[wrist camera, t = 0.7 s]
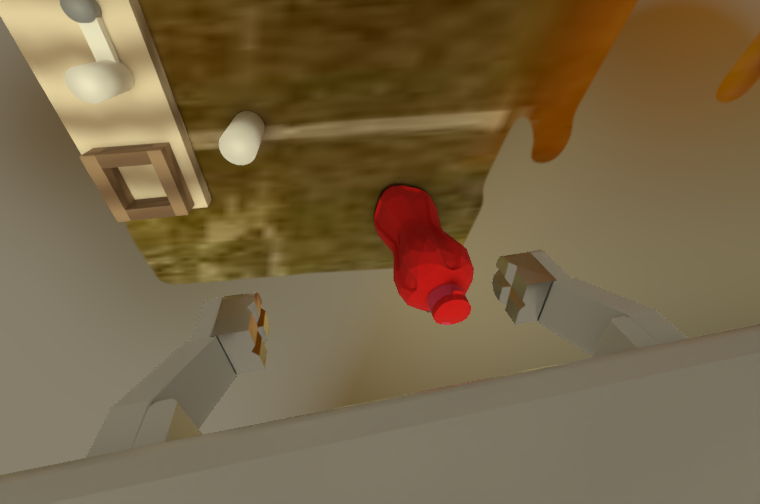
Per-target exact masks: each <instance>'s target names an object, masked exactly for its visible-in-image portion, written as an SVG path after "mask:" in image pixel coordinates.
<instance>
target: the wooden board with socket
mask: <svg viewBox="0 0 760 504" xmlns="http://www.w3.org/2000/svg"><path fill="white" fill-rule="evenodd" d="M95 1H96V2H97V3H98V5H99V7H100V9H101V13H102V15H101V19H102V21H103V23H104V26H105V28H106V30H107V32H108V35H109V37H110V39H111V42H112V44H113V46H114V49H115V51H116V53H117V55H118V58H119V60H120V62H122V63H123V64H125V65H126V66H127V67H128V68H129V69H130V71H131V72H132V74H133V76H134V86H133V88H132V89H131V90H129V91H127V92H124V93H122V94H119V95H117V96H115V97H112V98H110V99H107V100H105V101H102V102H100V103H96V104H92V103H87V102H84V101H82V100H80V99H79V98H77V97H76V96H75V95H74V94H73V93H72V92H71V91H70V90H69V88H68V87H67V85H66V82H65V73H66V71H67V70H68V69H69V68H71V67H74V66H78V65H83V64H88V63H93V62H96V60H95V58H94V55H93V53H92V51H91V49H90V47H89V45H88V43H87V41H86V39H85V36H84V34H83V32H82V30H81V28H80V26H79V24H78V22H76V21H74V20H72V19H70V18H69V17H68V16H67V15H66V14H65V13H64V11H63V10H62V8H61V6H60V1H59V0H0V15H1V17H2V19H3V21H4V23H5V24H6V26H7V28H8V29H9V31H10V33H11V35H12V37H13V38H14V40H15V41H16V43H17V45H18V46H19V48H20V50H21V52H22V54H23V55H24V57H25V59H26V60H27V62H28V64H29V65H30V67H31V69H32V71H33V72H34V74H35V76H36V78H37V79H38V81H39V83H40V84H41V86H42V88H43V89H44V91H45V93H46V95H47V96H48V98H49V100H50V102H51V103H52V105H53V107H54V108H55V110H56V112H57V113H58V115H59V117H60V119H61V120H62V122H63V124H64V125H65V127H66V129H67V131H68V132H69V134H70V136H71V138H72V139H73V141H74V143H75V144H76V146H77V148H78V150H79V151H80V153H81V156H79V157H80V159H81V161H82V162H83V164H84V166H85V168H86V169H87V171H88V173H89V174H90V176H91V177H92V179H93V181H94V183H95V184H96V186H97V188H98V190H99V191H100V193H101V195H102V196H103V198H104V200H105V201H106V203H107V205H108V206H109V208H110V210H111V212H112V213H113V215H114V217H115V218H116V220H117V222H123V221H133V220H142V219H152V218H161V217H171V216H180V215H189V213H190V211H191V210H192V208H202V207H208V206H209V204H210V202H211V200H212V199H211V196H210V193H209V190H208V188H207V185H206V182H205V180H204V177H203V174H202V172H201V169H200V166H199V163H198V161H197V158H196V155H195V153H194V150H193V147H192V145H191V142H190V139H189V136H188V134H187V131H186V128H185V126H184V123H183V120H182V118H181V115H180V112H179V110H178V107H177V104H176V101H175V99H174V96H173V93H172V91H171V88H170V85H169V83H168V80H167V77H166V74H165V72H164V69H163V66H162V64H161V61H160V58H159V56H158V53H157V50H156V47H155V45H154V42H153V39H152V37H151V34H150V31H149V29H148V26H147V23H146V20H145V18H144V15H143V12H142V10H141V7H140V4H139V2H138V0H95Z"/></svg>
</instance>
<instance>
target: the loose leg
mask: <svg viewBox="0 0 760 504" xmlns="http://www.w3.org/2000/svg"><path fill="white" fill-rule="evenodd" d="M264 132H265V125H264V122H263V120H262V119H261V118H260V116H258V115H257V114H256V113H254V112H251V111H242V112H239V113H238V114H237V115H236V116H235V118H234V119H233V120H232V122H231V123H230V125H229V126H228V127H227V129H226V130H225V132H224V133H223V134H222V136H221V137H220V140H219V149H220V152H221V154H222V155H223V156H224V158H225V159H227V160H228V161H229V162H231V163H233V164H236V165H246V164H249V163H251V162H252V161H253V160H254V159H255V157H256V155H257V152H258V149H259V146H260V144H261V141H262V138H263V135H264Z"/></svg>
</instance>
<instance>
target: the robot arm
mask: <svg viewBox="0 0 760 504" xmlns="http://www.w3.org/2000/svg"><path fill="white" fill-rule="evenodd" d="M496 266H497V268H498V269H499V270H498V271H497V272H496V273H495V275H494V276H493V282H492V284H493V291H494V293H495V296H496V297H497V299H498V300H499V301H500V302H502V303H504V304H506V308H505V311H506V312H507V314H508V315H509V316H510V318H511V319H512V321H513V322H514V323H515V324H521V323H527V322H534V321H538V322H539V323H540V324H542V325H543V326H545V327H546V328H548V329H549V330H551V331H552V332H554V333H556V334H557V335H558V336H560V337H562V338H563V339H565V340H566V341H568V342H569V343H571V344H572V345H574V346H575V347H577V348H578V349H580V350H581V351H583V352H584V353H586V354H587V355H589V356H590V357H589V358H587V359H582V360H577V361H572V362H567V363H562V364H557V365H551V366H546V367H542V368H537V369H532V370H526V371H521V372H516V373H512V374H506V375H502V376H496V377H492V378H486V379H482V380H477V381H472V382H467V383H462V384H457V385H451V386H446V387H442V388H436V389H431V390H426V391H421V392H416V393H411V394H406V395H401V396H396V397H391V398H386V399H380V400H375V401H371V402H365V403H361V404H355V405H350V406H345V407H340V408H335V409H330V410H325V411H320V412H316V413H310V414H305V415H300V416H295V417H290V418H285V419H280V420H275V421H270V422H265V423H260V424H254V425H249V426H244V427H239V428H234V429H229V430H225V431H219V432H214V433H210V434H205V435H203V434H202V433H201V432H200V430H199V428H200V427H201V425H202V424H203V423H204V421H205V420H206V418H207V417H208V416H209V414H210V413H211V411H212V410H213V409H214V407H215V406H216V404H217V403H218V402H219V400H220V399H221V397H222V396H223V395H224V393H225V392H226V391H227V389H228V388H229V386H230V385H231V384H232V382H233V381H234V379H235V378H236V377H237V376H236V375H237V374H242V373H247V372H252V371H257V370H262V369H265V363H266V354H267V350H266V347H265V342H267V340H268V338H269V323H268V318H267V314H266V311H265V310H263V309H261V304H262V301H261V298H260V295H259V294H258V293H249V294H241V295H233V296H225V297H219V298H212V299H207V300H206V301H205V302H204V305H203V307H202V310H201V313H200V316H199V319H198V322H197V324H196V327H195V330H194V332H193V335H192V338H191V340H190V341H185V342H184V343H183V344H182V345H181V346H180V347H179V348H177V349H176V350H175V351H174V352H173V353H172V354H171V355H170V356H169V357H167V358H166V359H165V360H164V361H163V362H162V363H161V364H159V366H157V367H156V368H155V369H154V370H153V371H152V372H151V373H149V374H148V375H147V376H146V377H145V378H144V379H143V380H142V381H141V382H139V383H138V384H137V385H136V386H135V387H134V388H133V389H132V390H130V391H129V392H128V393H127V394H126V395H125V396H124V397H123V398H122V399H121V400H119V401H118V402H117V403H116V404H115V405H114V406H113V407H111V408H110V410H109V412H108V414H107V416H106V419H105V420H104V423H103V425H102V426H101V428H100V430H99V432H98V434H97V436H96V438H95V440H94V442H93V445H92V446H91V448H90V450H89V452H88V454H87V456H86V458H83V459H78V460H73V461H68V462H63V463H58V464H53V465H48V466H43V467H38V468H33V469H28V470H23V471H18V472H13V473H8V474H3V475H0V504H760V324H758V325H753V326H748V327H743V328H738V329H733V330H728V331H723V332H718V333H713V334H708V335H703V336H698V337H693V338H688V337H687V336H686V335H684V334H683V333H682V332H681V331H680V330H678V329H677V328H676V327H675V326H674V325H672V324H671V323H670V322H669V321H668V320H667V319H665V318H664V317H663V316H662V315H661V314H659V313H658V312H657V311H656V310H655V309H652V308H650V307H647V306H645V305H642V304H640V303H637V302H635V301H633V300H630V299H628V298H625V297H623V296H620V295H618V294H615V293H613V292H610V291H608V290H605V289H603V288H600V287H598V286H595V285H593V284H591V283H588V282H586V281H583V280H581V279H578V278H571V277H570V276H569V275H568V274H567V273H566V272H565V271H564V270H563V269H562V268H561V267H560V266H559V265H558V264H557V263H556V262H555V261H554V260H553V259H552V258H551V257H550V256H549V255H548V254H547V253H546V252H545V251H543V250H536V251H530V252H526V253H519V254H512V255H506V256H500V257H499V258H498V260H497V263H496Z"/></svg>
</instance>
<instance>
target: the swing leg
mask: <svg viewBox="0 0 760 504" xmlns="http://www.w3.org/2000/svg"><path fill="white" fill-rule="evenodd" d="M59 1H60V6H61V8H62V10H63V11H64V13H65V14H66V15H67V16H68V17H69V18H70V19H72V20H74V21H76V22H78V24H79V26H80V28H81V30H82V32H83V34H84V36H85V39H86V41H87V43H88V45H89V47H90V49H91V51H92V53H93V55H94V58H95V60H96V62H93V63H88V64H83V65H78V66H74V67H71V68H69V69H68V70H67V71H66V73H65V82H66V85H67V87H68V88H69V90H70V91H71V92H72V93H73V94H74V95H75V96H76V97H77V98H79V99H80V100H82V101H84V102H87V103H92V104H96V103H100V102H102V101H105V100H107V99H110V98H112V97H115V96H117V95H119V94H122V93H124V92H127V91H129V90H131V89H132V88H133V86H134V76H133V74H132V72H131V71H130V69H129V68H128V67H127V66H126V65H125V64H123V63H122V62H120V60H119V58H118V55H117V53H116V51H115V49H114V46H113V44H112V42H111V39H110V37H109V35H108V32H107V30H106V28H105V26H104V23H103V21H102V19H101V15H102V13H101V9H100V7H99V5H98V3H97V2H96V1H95V0H59Z"/></svg>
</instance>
